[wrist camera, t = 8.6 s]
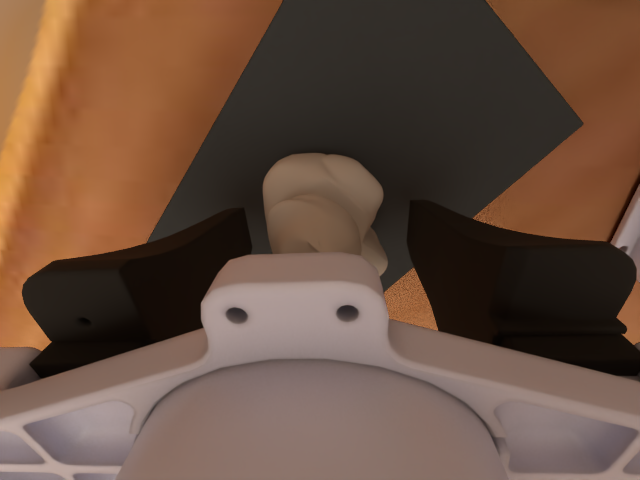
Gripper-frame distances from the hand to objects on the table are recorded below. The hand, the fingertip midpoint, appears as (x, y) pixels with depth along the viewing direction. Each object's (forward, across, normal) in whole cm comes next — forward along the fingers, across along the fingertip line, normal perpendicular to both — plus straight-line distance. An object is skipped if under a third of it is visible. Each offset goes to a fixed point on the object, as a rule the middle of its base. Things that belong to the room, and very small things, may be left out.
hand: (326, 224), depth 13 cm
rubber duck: (+3, 0, 0) cm, 3 cm away
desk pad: (+4, 0, 0) cm, 4 cm away
